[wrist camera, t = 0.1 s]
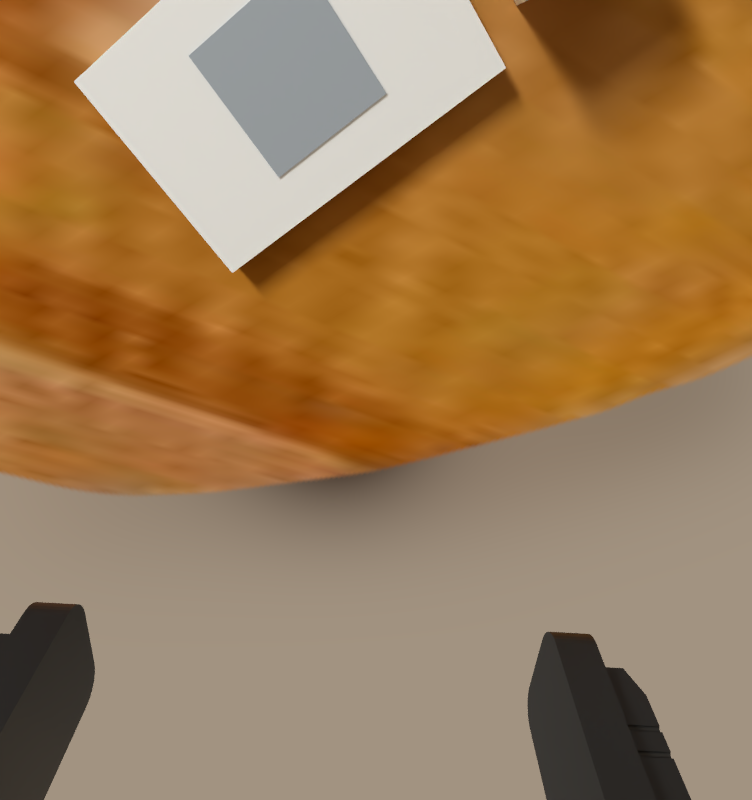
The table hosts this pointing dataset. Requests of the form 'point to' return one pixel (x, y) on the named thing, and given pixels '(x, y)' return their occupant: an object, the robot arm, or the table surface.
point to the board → (281, 101)
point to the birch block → (519, 1)
